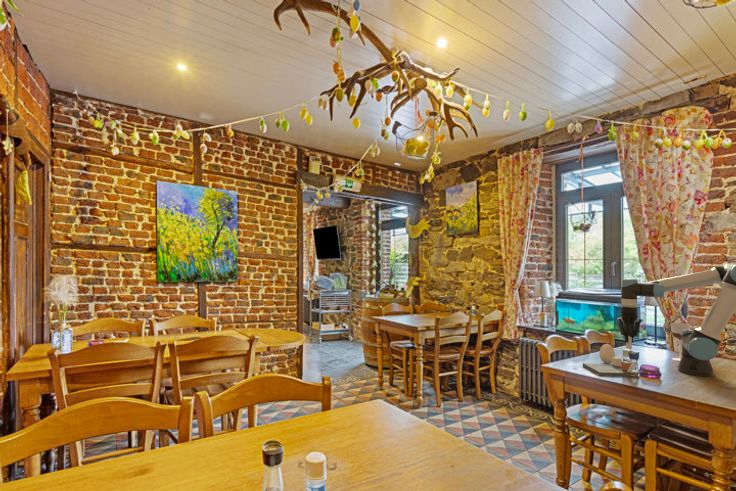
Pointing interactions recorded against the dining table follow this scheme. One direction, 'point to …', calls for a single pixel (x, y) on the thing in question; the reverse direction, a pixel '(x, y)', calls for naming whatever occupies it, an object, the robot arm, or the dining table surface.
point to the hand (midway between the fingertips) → (628, 348)
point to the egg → (606, 353)
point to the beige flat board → (607, 369)
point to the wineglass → (678, 334)
